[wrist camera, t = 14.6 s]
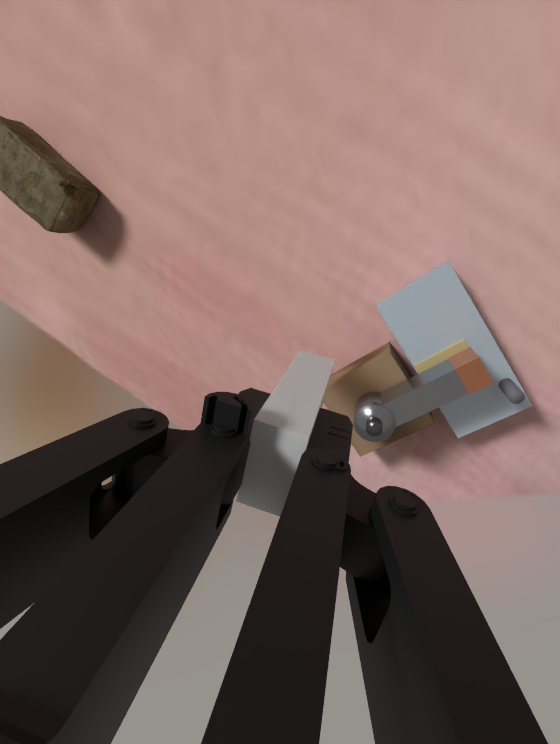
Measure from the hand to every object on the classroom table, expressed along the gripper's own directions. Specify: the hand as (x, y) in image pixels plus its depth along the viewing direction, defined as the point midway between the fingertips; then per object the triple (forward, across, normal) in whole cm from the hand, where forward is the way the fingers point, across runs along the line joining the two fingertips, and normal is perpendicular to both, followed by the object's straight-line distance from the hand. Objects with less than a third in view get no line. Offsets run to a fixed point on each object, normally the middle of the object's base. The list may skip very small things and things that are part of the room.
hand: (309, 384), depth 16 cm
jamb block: (+24, +5, -9) cm, 27 cm away
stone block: (+25, -34, +4) cm, 42 cm away
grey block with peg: (+24, +11, -2) cm, 27 cm away
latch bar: (+20, +8, -6) cm, 23 cm away
